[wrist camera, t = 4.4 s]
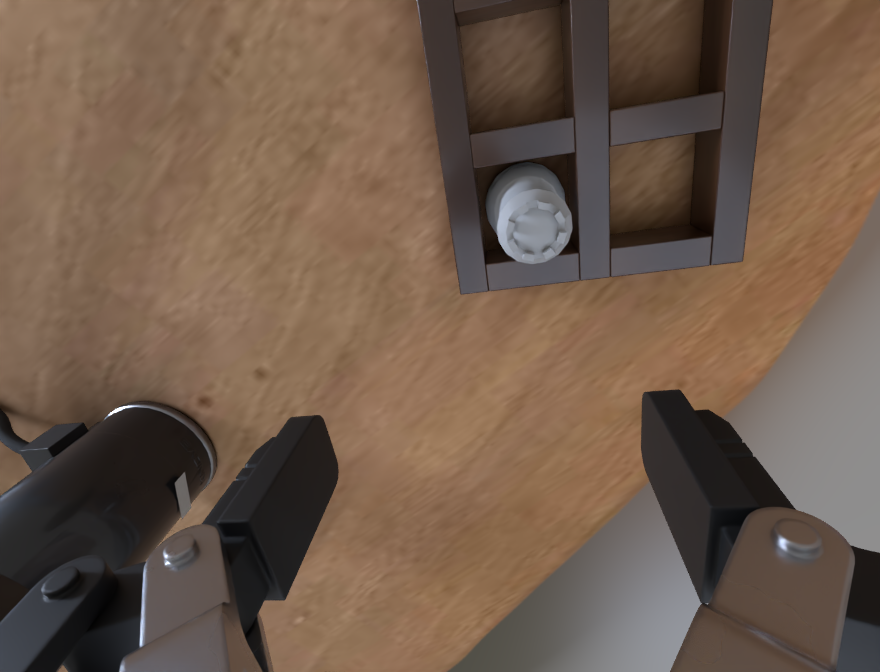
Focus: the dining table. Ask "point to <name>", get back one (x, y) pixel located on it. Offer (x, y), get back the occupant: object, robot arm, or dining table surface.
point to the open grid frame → (603, 143)
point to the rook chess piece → (529, 213)
